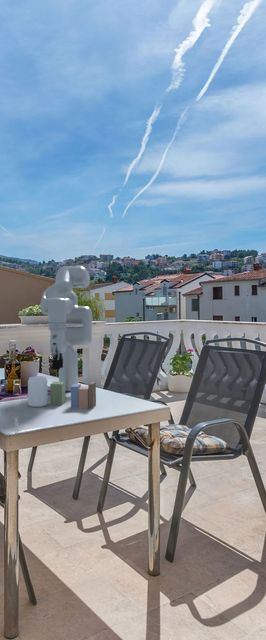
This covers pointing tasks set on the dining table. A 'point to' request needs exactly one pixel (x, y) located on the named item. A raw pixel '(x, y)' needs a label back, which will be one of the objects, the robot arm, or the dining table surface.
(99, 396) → the dining table surface
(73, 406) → the blue book
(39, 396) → the beverage can
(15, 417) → the dining table surface
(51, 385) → the olive book
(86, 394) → the terracotta book
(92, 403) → the walnut bookend
